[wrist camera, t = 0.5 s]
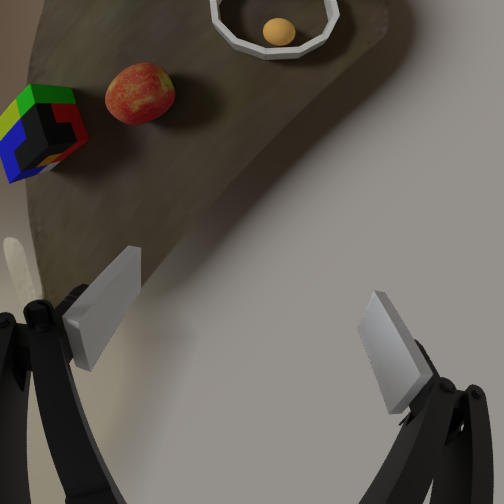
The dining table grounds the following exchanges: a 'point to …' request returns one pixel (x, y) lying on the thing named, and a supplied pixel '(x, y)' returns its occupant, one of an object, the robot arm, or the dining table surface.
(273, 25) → the orange egg
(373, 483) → the robot arm
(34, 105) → the puzzle toy
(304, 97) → the dining table surface
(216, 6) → the ring
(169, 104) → the apple
